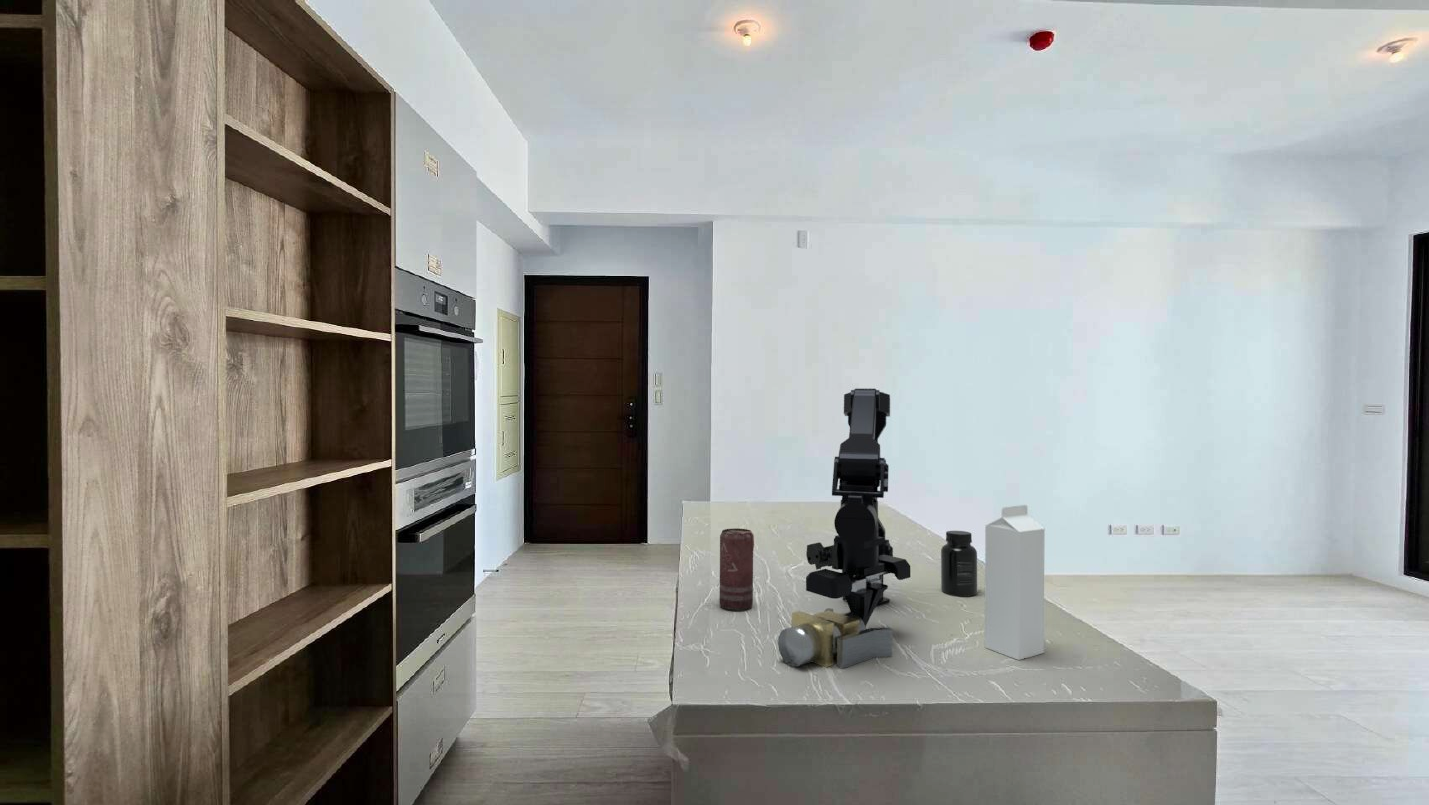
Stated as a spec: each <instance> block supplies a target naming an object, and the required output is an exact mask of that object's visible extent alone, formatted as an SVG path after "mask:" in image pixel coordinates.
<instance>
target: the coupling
mask: <svg viewBox="0 0 1429 805" xmlns="http://www.w3.org/2000/svg"><path fill="white" fill-rule="evenodd" d="M828 610H829V611H833V612H834V608H828V607H827V608H826V609H825V610H823V612H825V611H828ZM813 615H814V614H813ZM813 615H812V614H809V613H807V612H804V611H801V610H798V611H795V612H791V627H788V628H784V629H781V631H780V633H779V635H778V639H777V646H778V651H779V653H780V656H781V658H782V660H783V661H784V662H785V663H786V664H787V665H788V666H790V667H799V666H802V665H805V664H808V663H811V662H812V663H814V664H817V665H819V666H822V667H824V668H829V667H830V666H834V657H833V647H834V623H833V622H830V621H827V620H824V619H821V618H818V617H816V616H813ZM889 657H893V629H892V628H891V627H871V628H866V630H862V631H859V632H856V633H853V634H849V635H846V636H843V637H840V638H837V658H836V667H837V668H840V669H843V670H844V669H846V668H848V667H851V666H855V665H858V664H859V663H863V662H865V661H868V660H871V659H873V658H874V659H876V658H889Z"/></svg>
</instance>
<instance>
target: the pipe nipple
mask: <svg viewBox="0 0 1429 805" xmlns="http://www.w3.org/2000/svg"><path fill="white" fill-rule="evenodd" d="M824 611H825V610H824ZM824 611H822V612H819V613H816V614H813V616H816V617H818V618H821V619H824V620H827V621H830V622H833V623H834V647H833V658H836V659H837V638H840V637H843V636H846V635H849V634H853V633H856V632H859V631H862V630H866V629H867V628H866V627H867V626H866V627H865V624H864V622H863V620H862V619H861V618H860V617H859V616H858V615H857V614H856V613H854V612H850V611H845V612H842V613H838V612H835V611H834V610H833V611H829V610H828V611H825V612H824Z"/></svg>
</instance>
